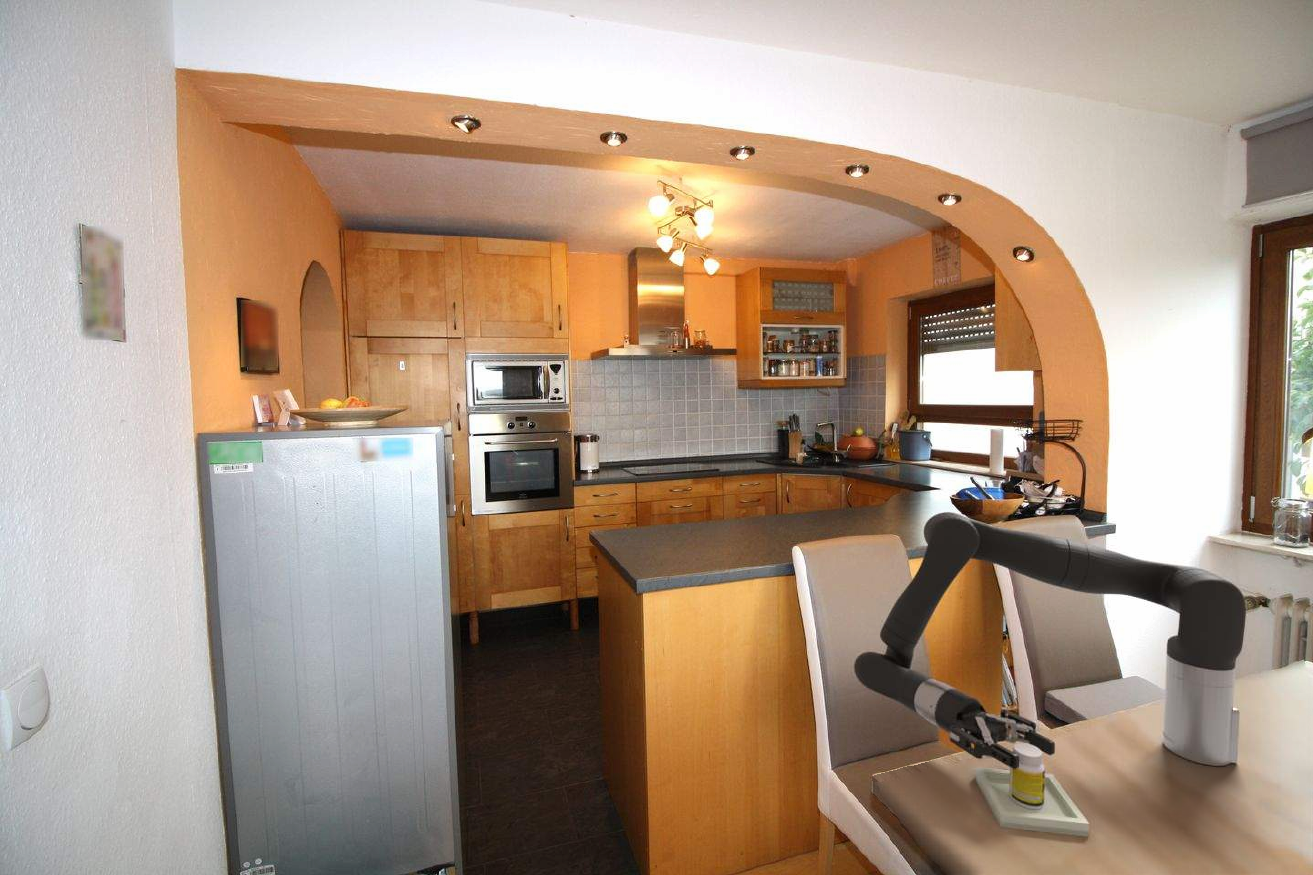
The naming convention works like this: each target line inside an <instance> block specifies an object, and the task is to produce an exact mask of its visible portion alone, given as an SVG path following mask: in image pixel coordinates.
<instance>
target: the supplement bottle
mask: <svg viewBox="0 0 1313 875" xmlns="http://www.w3.org/2000/svg"><path fill="white" fill-rule="evenodd" d="M1012 752H1014V753H1016V754H1017V755H1018V756H1019V767H1018V768H1016V769H1013V768H1011V767H1009V770H1010V786H1009V794H1010V797H1011V799H1012V800H1013V801H1014V802H1015V803H1017V804H1018V805H1020V806H1022V807H1025V808H1028V809H1040V808H1042V807H1043V806H1044V787H1045V774H1046V770H1045V769H1046V768H1045V765H1044V763H1043V761H1044V760H1043V752H1042V751H1041V750H1040V749H1039V748H1037V747H1036V746H1033V745H1031V744H1029V743H1024V742H1015V743H1013V746H1012Z"/></svg>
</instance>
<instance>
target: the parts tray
mask: <svg viewBox="0 0 1313 875" xmlns="http://www.w3.org/2000/svg"><path fill="white" fill-rule="evenodd" d="M974 780H975V783H976V784H977V786H978V788H979V790H980V791H981V793H982V795H983V797H984V799H985V801H986V802H987V804H988V806H989V808H990V810H991V812H992V814H993V816H994V817H995V819H996V821H997V823H998V825H999V827H1000V828H1007V829H1014V830H1015V829H1017V830H1023V831H1034V832H1041V833H1044V832H1045V833H1049V834H1050V833H1052V834H1061V835H1070V836H1078V837H1087V838H1090V823H1089V821H1088V819H1087V818H1086V817H1085V816H1084V815H1083V813H1082V812H1081V811H1080V809H1079V808H1078V806H1076V804H1075V802H1074V801H1073V800H1072V799H1071V797H1070V796H1069V795H1068V793H1067V792H1066V791H1065V789H1064V788H1063V787H1062V785H1061V783H1059V781H1058V780H1057V779H1056V777H1055V776H1054V775H1053V774H1052V773H1045V787H1044V806H1043V807H1042V808H1040V809H1028V808H1025V807H1022V806H1020V805H1018V804H1017V803H1015V802H1014V801H1013V800H1012V799H1011V797H1010V794H1009V786H1010V769H1000V768H989V767H979V766H974Z"/></svg>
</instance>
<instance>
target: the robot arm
mask: <svg viewBox="0 0 1313 875" xmlns="http://www.w3.org/2000/svg"><path fill="white" fill-rule="evenodd" d="M923 537H924V541H925V543H926V545H927V546H926V550H925V553H924V556H923V559H922V562H921V564H920V566H919V568H918V569H917V572H916V574H915V575H914V577H913V578H912V580H911V581H910V583H909V584H908V585H907V586H906V588H904V590H903V592H902V593H901V594H900V596H898V598H897V600H896V601H895V602H894V604H893V606H892V607H891V610H890V611H889V614H888V615H887V618H886V620H885V621H884V623H883V625H882V627H881V630H880V631H879V632H880V633H879V636H880V639H881V641H882V643H884V644H885V645H886V650H885V653H884V654H883V653H879V652H876V651H865V652H862V653H860V654H859V655H858V656H857V657H856V659H855V660H854V665H853V669H854V670H853V671H854V673H855V676H856V679H857V680H858V681H859V682H860V683H861V684H862V685H863V686H864V687H865V688H866V689H869V690H870V691H873V692H875V693H877V694H880V695H881V696H885V697H887V698H889V699H892V700H894V701H896V702H898V703H899V704H902V705H903V706H904V707H906V708H907V709H909V710H911V711H913V712H914V713H916V714H918V715H920V716H921V717H922V718H924V720H926V721H928V722H929V723H931V724H932V725H934V726H936V727H937V728H939V729H941V730H943V732H946V733H948V734H949V741H950V743H953V744H954V745H956V746H957V747H958V748H960V749H961V750H963V751H965V752H966V753H968V754H969V755H971V756H972V757H974V758H976V759H978V760H981V759H982V760H983V756H985V757H987V758H988V759H995V760H996V761H998V762H1001V763H1002V764H1004V765H1006V766H1007V767H1009V768H1010V767H1011V768H1013V769H1016V768H1018V767H1019V756H1018V755H1017V754H1016V753H1014V752H1013V750H1010V749H1008V748H1007V747H1005V746H1003V745H1001V744H999V742H1006V743H1007V742H1008V743H1011V744H1016V743H1017V742H1019V743H1027V744H1031V745H1033V746H1036V747H1037V748H1039V749H1040V750H1041V751H1042V753H1043V754H1046V755H1048V756H1053V755H1054V754H1055V752H1056V751H1055V750H1056V744H1055V741H1053V740H1052V739H1049V738H1048V737H1045V736H1043V735H1042V734H1040V733H1038V732H1037V723H1035V722H1033V721H1032V720H1029V719H1027V718H1025V717H1023V716H1021V715H1018V714H1017V713H1014V712H1013V711H1012V712H1011V711H1010V710H1008V709H1006V708H1005V709H1004V708H1002V709H1000V714H998V715H997V714H994V713H991V712H987V711H986V710H985V708H984V706H983V705H982V703H981V702H980V701H979V700H978V699H976V698H975V697H973V696H971V695H969V694H967V693H964V692H963V691H961V690H959V689H957V688H955V687H953V686H951V685H948V683H945V682H942V681H938V680H937V679H934V678H932V677H930V676H928V675H925V674H924V673H922V672H919V671H917V670H914V669H911V668H912V662H913V657H914V650H915V647H916V646H917V645H918V643H919V641H920V639H921V637H922V635H923V633H924V632H925V629H926V628H927V626H928V624H929V623H930V620H931V618H932V617H933V614H934V612H935V610H936V608H937V607H938V605H939V604H940V601H941V600H942V598H943V596H945V593H946V592H947V590H948V589H949V587H950V586H951V585H952V583H953V582H954V580H955V579H956V578H957V576H958V575H959V574H960V572H961V571H962V570H963V569H964V567H965V566H966V565H967V564H968V562H969V561H971V560H978V561H981V562H988V563H992V564H995V565H998V566H1001V567H1003V568H1006V569H1008V570H1011V571H1012V572H1013V571H1014V572H1015V573H1018V574H1021V575H1022V576H1025V577H1028V578H1030V579H1033V580H1035V581H1037V582H1038V581H1039V582H1042V583H1045V584H1048V585H1049V586H1050V585H1051V586H1055V587H1059V588H1062V589H1067V590H1070V591H1075V592H1079V593H1085V594H1095V595H1096V594H1097V595H1123V596H1128V597H1133V598H1137V599H1140V600H1145V601H1147V602H1151V603H1154V604H1156V605H1160V606H1163V607H1165V608H1167V609H1169V610H1172V611H1174V612H1176V613H1177V614H1179V617H1178V618H1179V620H1178V629H1177V635H1173V636H1170V637H1169V638H1168V639H1167V642H1166V659H1165V683H1164V684H1165V686H1164V689H1165V690H1164V712H1163V731H1162V732H1163V733H1162V734H1163V740H1162V741H1163V744H1164V746H1165V747H1166V749H1167V750H1169V751H1170V752H1171V753H1173V754H1176V755H1177V756H1179V757H1182V758H1183V759H1186V760H1188V761H1191V762H1194V763H1197V764H1202V765H1206V766H1215V767H1222V766H1227V765H1230V764H1238V761H1239V760H1238V759H1239V758H1238V757H1239V736H1240V716H1241V714H1240V713H1241V712H1240V710H1239V709H1238V708H1236V707H1235V706H1234V703H1235V702H1234V701H1235V700H1234V699H1235V682H1236V680H1235V679H1236V678H1235V677H1236V661H1237V658H1238V657H1239V656H1240V654H1241V652H1242V650H1243V645H1244V638H1245V627H1246V617H1247V616H1246V615H1247V608H1246V607H1247V606H1246V600H1245V597H1244V595H1243V592H1242V591H1241V590H1240V588H1239V587H1237V585H1235V584H1234V583H1233V582H1230V581H1229V580H1228V579H1225V578H1223V577H1221V576H1219V575H1217V574H1215V573H1213V572H1210V571H1208V570H1205V569H1203V568H1198V567H1194V566H1187V565H1179V564H1170V563H1164V562H1158V561H1150V560H1146V559H1139V558H1136V557H1132V556H1129V555H1126V554H1124V553H1123V554H1122V553H1120V552H1117V551H1113V550H1109V549H1106V548H1102V547H1100V546H1099V547H1098V546H1095V545H1093V544H1088V543H1085V542H1079V541H1075V540H1072V539H1067V538H1064V537H1063V538H1062V537H1057V536H1053V535H1052V536H1051V535H1048V534H1041V533H1040V534H1039V533H1035V532H1029V531H1024V530H1023V531H1021V530H1015V529H1014V530H1013V529H1008V528H1004V527H1003V528H1002V527H999V526H995V525H991V524H988V523H985V522H982V521H978V520H975V519H973V518H969V517H966V516H964V515H962V514H959V513H955V512H950V511H947V512H946V511H944V512H940V513H937V514H934V515H933V516H931V517H930V518H929V519H928V520H927V521H926V522H925V524H924V527H923ZM1008 729H1010V734H1009V735H1008V734H1007V730H1008ZM1017 733H1018V734H1017ZM972 745H973V746H972Z"/></svg>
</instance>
